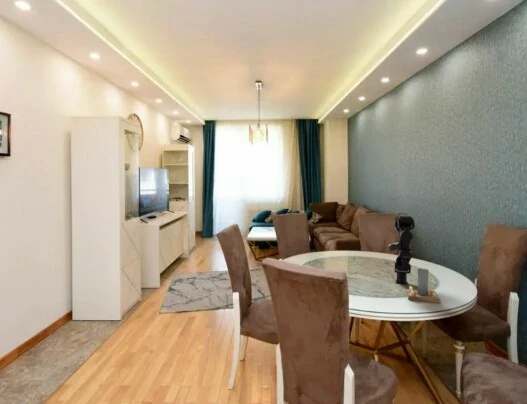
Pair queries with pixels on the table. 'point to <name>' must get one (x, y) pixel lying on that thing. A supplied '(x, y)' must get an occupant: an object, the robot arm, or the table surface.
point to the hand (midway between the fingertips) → (404, 266)
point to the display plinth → (414, 296)
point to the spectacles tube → (422, 282)
